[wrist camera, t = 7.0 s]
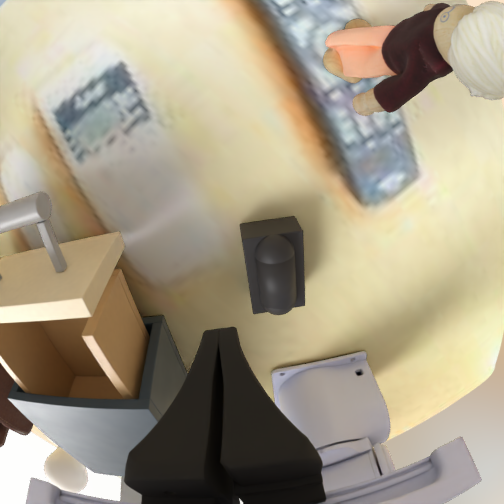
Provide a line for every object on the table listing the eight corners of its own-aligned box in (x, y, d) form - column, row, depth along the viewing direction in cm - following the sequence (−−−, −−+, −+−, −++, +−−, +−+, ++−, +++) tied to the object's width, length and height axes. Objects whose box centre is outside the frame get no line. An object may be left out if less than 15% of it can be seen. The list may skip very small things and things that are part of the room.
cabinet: (41, 325, 22) (7, 398, 15) (163, 314, 23) (148, 409, 15) (105, 411, 30) (94, 472, 22) (205, 409, 30) (206, 479, 23)
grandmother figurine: (344, -5, 12) (495, -72, 2) (394, 28, 14) (561, 15, 3) (295, 94, 16) (437, 115, 5) (349, 122, 17) (513, 194, 6)
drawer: (-19, 204, 15) (-75, 249, 9) (100, 162, 16) (44, 204, 10) (70, 372, 24) (52, 428, 19) (175, 368, 25) (170, 436, 19)
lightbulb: (74, 435, 34) (62, 495, 24) (48, 414, 30) (31, 478, 21) (103, 436, 33) (94, 502, 24) (78, 414, 30) (62, 486, 21)
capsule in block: (295, 215, 20) (308, 239, 17) (298, 287, 23) (309, 317, 20) (239, 223, 20) (243, 249, 17) (250, 294, 22) (255, 326, 20)
